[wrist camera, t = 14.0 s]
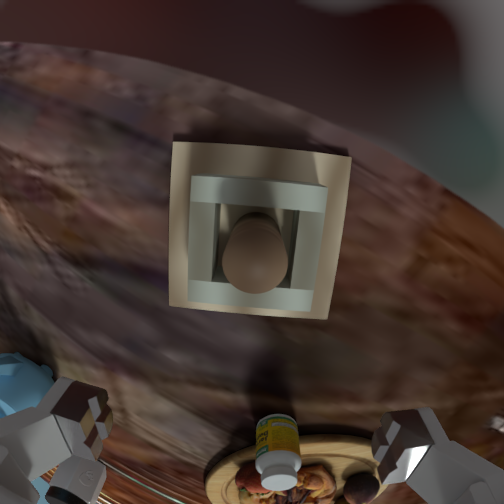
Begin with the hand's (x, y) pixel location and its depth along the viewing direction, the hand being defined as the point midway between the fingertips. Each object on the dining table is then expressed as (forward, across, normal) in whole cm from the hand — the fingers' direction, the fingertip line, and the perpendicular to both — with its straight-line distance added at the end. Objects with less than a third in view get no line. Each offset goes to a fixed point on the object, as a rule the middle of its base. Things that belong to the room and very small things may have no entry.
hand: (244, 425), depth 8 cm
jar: (+23, +27, +45) cm, 57 cm away
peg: (+22, 0, 0) cm, 22 cm away
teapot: (+23, +31, +24) cm, 46 cm away
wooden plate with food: (+24, -11, +42) cm, 49 cm away
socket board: (+23, 0, 0) cm, 23 cm away
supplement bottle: (+23, -5, +25) cm, 34 cm away
